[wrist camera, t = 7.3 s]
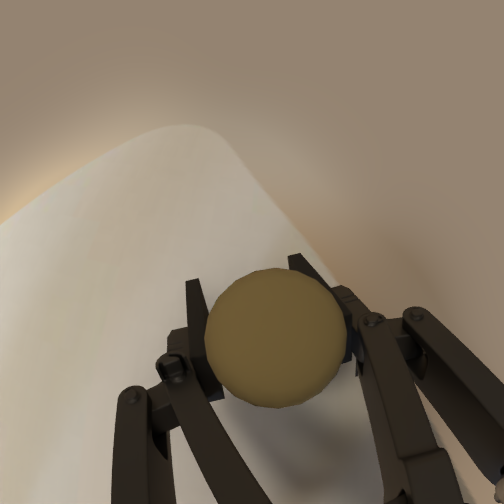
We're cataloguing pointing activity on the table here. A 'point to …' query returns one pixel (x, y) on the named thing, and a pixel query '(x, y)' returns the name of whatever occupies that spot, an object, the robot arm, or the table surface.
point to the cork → (275, 338)
